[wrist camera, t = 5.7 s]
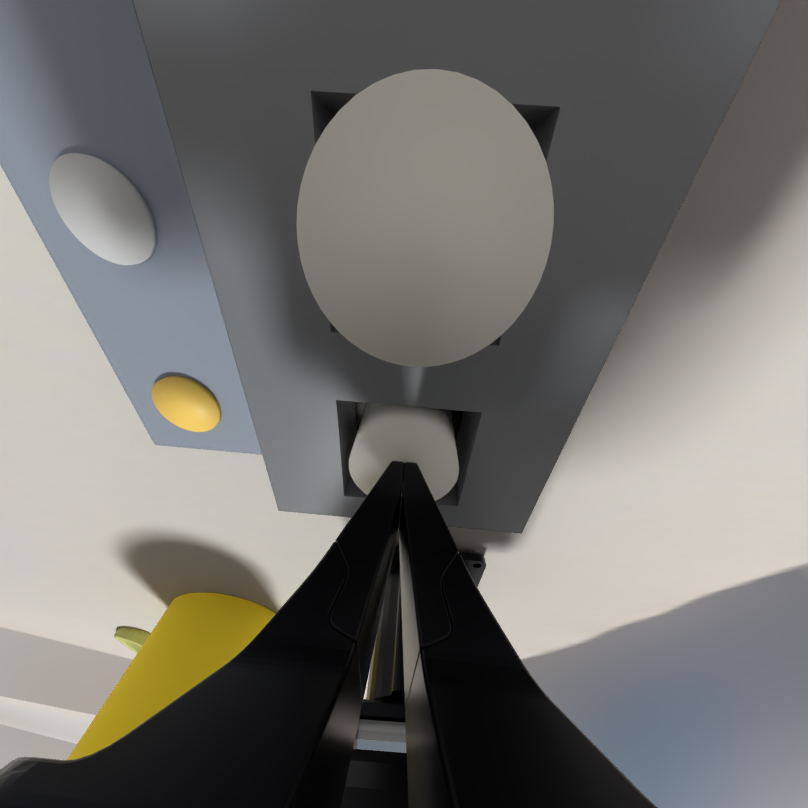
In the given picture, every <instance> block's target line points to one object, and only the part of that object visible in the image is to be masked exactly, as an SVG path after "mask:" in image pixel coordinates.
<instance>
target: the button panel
mask: <svg viewBox="0 0 808 808" xmlns="http://www.w3.org/2000/svg"><path fill="white" fill-rule="evenodd" d="M780 1H781V0H133V2H134V6H135V9H136V13H137V16H138V20H139V23H140V27H141V30H142V34H143V37H144V41H145V44H146V48H147V51H148V55H149V58H150V62H151V65H152V69H153V72H154V76H155V80H156V83H157V87H158V90H159V94H160V97H161V101H162V104H163V108H164V111H165V115H166V118H167V122H168V125H169V129H170V132H171V136H172V139H173V143H174V146H175V150H176V153H177V157H178V160H179V164H180V167H181V171H182V174H183V178H184V181H185V185H186V188H187V192H188V195H189V199H190V202H191V206H192V209H193V213H194V216H195V220H196V223H197V227H198V230H199V234H200V237H201V241H202V244H203V248H204V251H205V255H206V258H207V262H208V265H209V269H210V272H211V276H212V279H213V283H214V286H215V290H216V293H217V297H218V300H219V304H220V307H221V311H222V314H223V318H224V321H225V325H226V328H227V332H228V335H229V339H230V342H231V346H232V349H233V353H234V356H235V360H236V363H237V367H238V370H239V374H240V377H241V381H242V384H243V388H244V391H245V395H246V398H247V402H248V405H249V409H250V412H251V416H252V419H253V423H254V426H255V430H256V433H257V437H258V440H259V444H260V447H261V451H262V454H263V458H264V461H265V465H266V468H267V472H268V475H269V479H270V482H271V486H272V489H273V493H274V496H275V500H276V503H277V507H278V510H279V511H288V512H298V513H309V514H320V515H331V516H341V517H352V516H353V515H354V513H355V512H356V511H357V509H358V508H359V506H360V505H361V504H362V502H363V501H364V499H365V498H366V496H367V494H365V493H364V492H363V491H362V490H361V489H360V488H359V487H358V486H357V485H356V484H355V482H354V481H353V479H352V477H351V474H350V471H349V458H350V454H351V451H352V448H353V445H354V441H355V438H356V413H355V402H365V403H376V404H388V405H400V406H412V407H423V408H435V409H447V410H459V411H463V414H462V418H461V423H460V428H459V432H458V437H457V442H456V449H457V456H458V464H459V474H458V478H457V481H456V483H455V485H454V486H453V488H452V489H451V490H450V491H449V492H448V493H447V494H446V495H444V496H443V497H442V498H440V499H438V500H436V501H435V502H436V504H437V506H438V508H439V510H440V512H441V515H442V517H443V519H444V521H445V523H446V525H447V526H449V527H460V528H471V529H481V530H492V531H503V532H514V533H522V531H523V529H524V527H525V525H526V523H527V521H528V519H529V517H530V515H531V513H532V511H533V509H534V506H535V504H536V502H537V500H538V498H539V496H540V494H541V492H542V490H543V488H544V486H545V484H546V482H547V480H548V478H549V476H550V474H551V472H552V470H553V467H554V465H555V463H556V461H557V459H558V457H559V455H560V453H561V451H562V449H563V447H564V445H565V443H566V441H567V439H568V437H569V435H570V433H571V431H572V428H573V426H574V424H575V422H576V420H577V418H578V416H579V414H580V412H581V410H582V408H583V406H584V404H585V402H586V400H587V398H588V396H589V394H590V391H591V389H592V387H593V385H594V383H595V381H596V379H597V377H598V375H599V373H600V371H601V369H602V367H603V365H604V363H605V361H606V359H607V357H608V355H609V352H610V350H611V348H612V346H613V344H614V342H615V340H616V338H617V336H618V334H619V332H620V330H621V328H622V326H623V324H624V322H625V320H626V318H627V316H628V313H629V311H630V309H631V307H632V305H633V303H634V301H635V299H636V297H637V295H638V293H639V291H640V289H641V287H642V285H643V283H644V281H645V279H646V277H647V274H648V272H649V270H650V268H651V266H652V264H653V262H654V260H655V258H656V256H657V254H658V252H659V250H660V248H661V246H662V244H663V242H664V240H665V237H666V235H667V233H668V231H669V229H670V227H671V225H672V223H673V221H674V219H675V217H676V215H677V213H678V211H679V209H680V207H681V205H682V203H683V201H684V198H685V196H686V194H687V192H688V190H689V188H690V186H691V184H692V182H693V180H694V178H695V176H696V174H697V172H698V170H699V168H700V166H701V164H702V162H703V159H704V157H705V155H706V153H707V151H708V149H709V147H710V145H711V143H712V141H713V139H714V137H715V135H716V133H717V131H718V129H719V127H720V125H721V122H722V120H723V118H724V116H725V114H726V112H727V110H728V108H729V106H730V104H731V102H732V100H733V98H734V96H735V94H736V92H737V90H738V88H739V86H740V83H741V81H742V79H743V77H744V75H745V73H746V71H747V69H748V67H749V65H750V63H751V61H752V59H753V57H754V55H755V53H756V51H757V49H758V47H759V44H760V42H761V40H762V38H763V36H764V34H765V32H766V30H767V28H768V26H769V24H770V22H771V20H772V18H773V16H774V14H775V12H776V10H777V8H778V5H779V3H780ZM420 69H440V70H446V71H453V72H458V73H461V74H464V75H466V76H469V77H472V78H475V79H477V80H479V81H481V82H483V83H484V84H486V85H488V86H489V87H491V88H493V89H494V90H496V91H497V92H498V93H500V94H501V95H502V96H503V97H504V98H505V99H506V100H508V101H509V102H510V103H511V104H512V105H513V106H514V107H515V108H516V110H517V111H518V112H519V113H520V114H521V116H522V117H523V118H524V119H525V121H526V122H527V123H528V125H529V127H530V129H531V130H532V132H533V134H534V135H535V137H536V139H537V140H538V143H539V145H540V148H541V150H542V153H543V155H544V158H545V160H546V163H547V167H548V171H549V175H550V179H551V184H552V192H553V201H554V226H553V234H552V242H551V247H550V251H549V255H548V259H547V263H546V266H545V269H544V272H543V274H542V277H541V280H540V282H539V284H538V286H537V288H536V290H535V292H534V294H533V296H532V298H531V299H530V301H529V303H528V304H527V306H526V307H525V309H524V310H523V312H522V313H521V314H520V315H519V317H518V318H517V319H516V320H515V322H514V323H513V324H512V325H511V326H510V327H509V328H508V329H507V330H506V331H505V332H504V333H503V334H502V335H501V336H500V337H498V338H497V339H496V340H495V341H493V342H492V343H491V344H490V345H488V346H486V347H485V348H483V349H482V350H480V351H478V352H477V353H475V354H473V355H470V356H468V357H466V358H464V359H461V360H458V361H455V362H452V363H449V364H444V365H439V366H430V367H410V366H403V365H397V364H394V363H390V362H386V361H384V360H381V359H379V358H376V357H374V356H372V355H370V354H368V353H366V352H364V351H362V350H361V349H359V348H358V347H357V346H355V345H354V344H352V343H351V342H350V341H348V340H347V339H346V338H345V337H344V336H343V335H342V334H341V333H339V331H338V330H337V329H336V328H335V327H334V326H333V325H332V324H331V323H330V321H329V320H328V319H327V317H326V316H325V314H324V313H323V312H322V310H321V309H320V307H319V305H318V303H317V302H316V300H315V298H314V296H313V294H312V292H311V290H310V287H309V285H308V283H307V280H306V277H305V274H304V271H303V267H302V264H301V259H300V254H299V248H298V240H297V226H296V224H297V204H298V198H299V192H300V186H301V182H302V179H303V175H304V172H305V168H306V165H307V163H308V160H309V158H310V156H311V153H312V151H313V149H314V146H315V144H316V143H317V141H318V139H319V138H320V136H321V134H322V133H323V131H324V129H325V128H326V126H327V125H328V124H329V122H330V121H331V120H332V119H333V117H334V116H335V115H336V114H337V113H338V111H339V110H340V109H341V108H342V107H343V106H344V105H346V104H347V103H348V102H349V101H350V100H351V99H352V98H353V97H354V96H355V95H357V94H358V93H360V92H361V91H363V90H364V89H366V88H367V87H369V86H370V85H372V84H373V83H375V82H378V81H380V80H382V79H385V78H387V77H389V76H392V75H394V74H398V73H403V72H407V71H411V70H420ZM400 509H401V507H400ZM399 521H400V519H399Z"/></svg>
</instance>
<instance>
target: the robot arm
mask: <svg viewBox="0 0 808 808" xmlns="http://www.w3.org/2000/svg"><path fill="white" fill-rule="evenodd" d="M403 472H404V473H403ZM402 484H403V485H402ZM401 495H402V497H401ZM400 507H401V509H400ZM399 519H400V521H399ZM398 528H399V547H396V546H395V544H396V540H397V534H398ZM485 567H486V563H485V558H484V556H482V555H479V554H469V553H459V550H458V548H457V546H456V544H455V542H454V540H453V538H452V536H451V534H450V531H449V529H448V527H447V525H446V523H445V521H444V519H443V517H442V515H441V512H440V510H439V508H438V506H437V504H436V502H435V500H434V498H433V496H432V493H431V491H430V489H429V487H428V485H427V483H426V481H425V479H424V476H423V474H422V472H421V470H420V468H419V466H418V464H417V463H414V462H405V463H404V462H402V461H391V462H390V464H389V465H388V467H387V468H386V470H385V471H384V472H383V474H382V475H381V477H380V478H379V479H378V481H377V482H376V484H375V485H374V487H373V488H372V489H371V491H370V492H369V494H368V495H367V496H366V498H365V499H364V501H363V502H362V504H361V505H360V506H359V508H358V509H357V511H356V512H355V513H354V515H353V516H352V518H351V519H350V521H349V522H348V523H347V525H346V526H345V528H344V529H343V530H342V532H341V533H340V535H339V536H338V538H337V539H336V542H334V543H333V544H332V546H331V547H330V549H329V550H328V551H327V553H326V554H325V556H324V557H323V558H322V560H321V561H320V562H319V564H318V565H317V566H316V568H315V569H314V570H313V571H312V573H311V574H310V575H309V576H308V577H307V579H306V580H305V581H304V582H303V583H302V584H301V586H300V587H299V588H298V589H297V590H296V591H295V593H294V594H293V595H292V596H291V597H290V598H289V599H288V601H287V602H286V603H285V604H284V605H283V606H282V607H281V608H280V610H279V611H278V612H277V613H276V614H275V615H274V616H273V618H272V619H271V620H270V621H269V622H268V623H267V624H266V625H265V627H264V628H263V629H262V630H261V631H260V632H259V633H258V634H257V636H256V637H255V638H254V639H253V640H252V641H251V642H250V643H249V644H248V645H247V646H246V647H245V648H244V649H243V650H242V651H241V652H240V653H239V654H237V655H236V656H235V657H234V658H233V659H231V660H230V661H229V662H228V663H226V664H225V665H224V666H222V667H221V668H220V669H218V670H217V671H215V672H214V673H213V674H211V675H210V676H208V677H207V678H205V679H204V680H203V681H201V682H200V683H198V684H197V685H196V686H194V687H193V688H191V689H190V690H189V691H187V692H186V693H184V694H183V695H181V696H180V697H179V698H177V699H176V700H174V701H173V702H172V703H170V704H169V705H167V706H166V707H164V708H163V709H162V710H160V711H159V712H157V713H156V714H155V715H153V716H152V717H150V718H149V719H148V720H146V721H145V722H143V723H142V724H140V725H139V726H138V727H136V728H135V729H133V730H132V731H131V732H129V733H128V734H126V735H125V736H123V737H122V738H120V739H119V740H117V741H115V742H114V743H112V744H111V745H109V746H107V747H105V748H103V749H101V750H99V751H97V752H95V753H93V754H91V755H88V756H85V757H82V758H78V759H75V760H56V759H46V758H37V757H21V758H17V759H15V760H13V761H11V762H10V763H8V764H7V765H6V766H4V767H3V768H2V769H0V808H658V807H656V806H655V805H654V804H653V803H652V802H651V801H650V800H649V799H648V798H647V797H646V796H645V795H644V794H642V793H641V792H640V791H639V790H638V789H637V788H636V787H635V786H634V785H633V784H632V782H631V781H630V780H629V779H627V777H626V776H625V775H624V774H623V773H622V772H621V771H620V770H619V769H618V768H617V767H616V766H615V765H614V764H613V763H612V762H611V761H610V760H609V759H608V758H607V757H606V756H605V755H604V754H603V753H602V752H601V751H600V750H599V749H598V748H597V747H596V746H595V745H594V743H593V742H592V741H591V740H590V739H588V737H587V736H586V735H585V734H584V733H583V732H582V731H581V730H580V729H579V728H578V727H577V726H576V725H575V724H574V723H573V722H572V721H571V720H570V719H569V718H568V717H567V716H566V715H565V714H564V713H563V712H562V711H561V710H560V709H559V708H558V707H557V706H556V705H555V703H553V702H552V700H550V698H549V697H548V696H547V695H546V694H545V693H544V691H543V690H542V689H541V688H540V687H539V685H538V684H537V683H536V681H535V680H534V679H533V677H532V676H531V675H530V673H529V672H528V670H527V669H526V667H525V666H524V664H523V663H522V661H521V659H520V658H519V656H518V655H517V653H516V651H515V650H514V648H513V646H512V645H511V643H510V641H509V640H508V638H507V637H506V635H505V633H504V632H503V630H502V628H501V627H500V625H499V624H498V622H497V620H496V619H495V617H494V615H493V614H492V612H491V610H490V609H489V607H488V605H487V604H486V602H485V600H484V599H483V597H482V595H481V593H480V592H479V590H478V588H477V587H478V584H479V582H480V579H481V577H482V575H483V572H484V570H485ZM370 664H371V665H370ZM369 669H370V673H369ZM368 674H369V681H368V689H367V697H366V699H363V698H364V693H365V688H366V683H367V679H368ZM357 739H366V740H378V741H391V742H404V743H406V749H407V753H397V752H384V751H373V750H360V749H357Z"/></svg>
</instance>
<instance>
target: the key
mask: <svg viewBox="0 0 808 808" xmlns="http://www.w3.org/2000/svg"><path fill="white" fill-rule="evenodd" d="M149 636H150V633H148V632H145V631H141V630H138V629H132V628H120V629H118V630H117V631H116V633H115V635H114V638H115V639H117V640H118V641H120V642H121V643H122V644H124V645H125V646H127V647H128V648H129V649H131V650H132V651H134V652H135V653H137V654H138V652H139V651H140V649H141V648H142V646H143V645H144V643H145V642H146V640H147V639H148V637H149Z"/></svg>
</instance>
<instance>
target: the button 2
mask: <svg viewBox="0 0 808 808" xmlns="http://www.w3.org/2000/svg"><path fill="white" fill-rule="evenodd" d="M391 461H402V462H404V463H405V462H414V463H417V464H418V466H419V468H420V470H421V472H422V474H423V476H424V479H425V481H426V483H427V485H428V487H429V489H430V491H431V493H432V496H433V498H434V500H435V501H436V500H438V499H440V498H442V497H443V496H444V495H446V494H447V493H448V492H449V491H450V490H451V489H452V488H453V486H454V485H455V483H456V481H457V478H458V474H459V464H458V456H457V449H456V442H455V435H454V427H453V420H452V413H451V410H447V409H435V408H423V407H412V406H400V405H388V404H376V403H367V404H366V407H365V410H364V413H363V416H362V420H361V423H360V426H359V429H358V432H357V435H356V438H355V441H354V445H353V448H352V451H351V454H350V458H349V471H350V474H351V477H352V479H353V481H354V482H355V484H356V485H357V486H358V487H359V488H360V489H361V490H362V491H363V492H364V493H365V494H367V495H368V494H369V492H370V491H371V489H372V488H373V487H374V485H375V484H376V482H377V481H378V479H379V478H380V477H381V475H382V474H383V472H384V471H385V470H386V468H387V467H388V465H389V464H390V462H391ZM403 473H404V472H403ZM402 485H403V484H402ZM401 497H402V495H401Z"/></svg>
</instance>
